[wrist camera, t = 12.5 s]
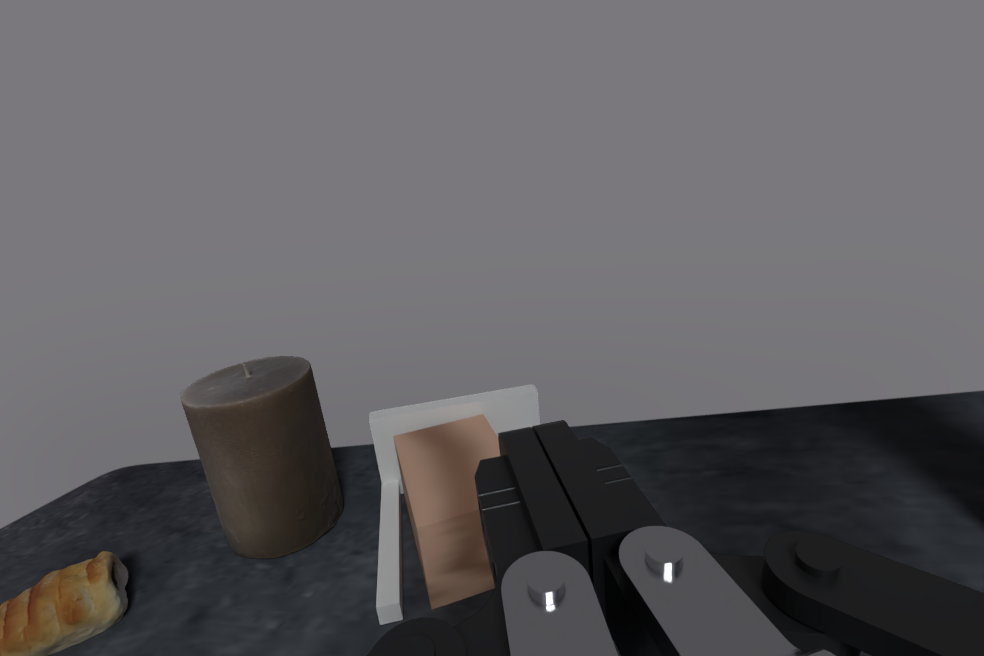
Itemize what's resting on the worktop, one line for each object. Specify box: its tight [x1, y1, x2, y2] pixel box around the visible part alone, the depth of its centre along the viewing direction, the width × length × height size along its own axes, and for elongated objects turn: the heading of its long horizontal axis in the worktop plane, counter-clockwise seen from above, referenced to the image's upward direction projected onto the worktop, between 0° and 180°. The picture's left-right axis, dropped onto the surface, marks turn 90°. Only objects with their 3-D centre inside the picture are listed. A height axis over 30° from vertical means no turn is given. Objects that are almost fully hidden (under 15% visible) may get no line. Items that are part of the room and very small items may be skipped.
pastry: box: [0, 551, 128, 656], centre depth 35 cm, size 9×7×4 cm
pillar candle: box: [180, 356, 344, 559], centre depth 42 cm, size 10×10×15 cm
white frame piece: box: [369, 384, 540, 625], centre depth 40 cm, size 15×15×8 cm
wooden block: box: [393, 414, 500, 609], centre depth 39 cm, size 8×12×7 cm, turn 18°
